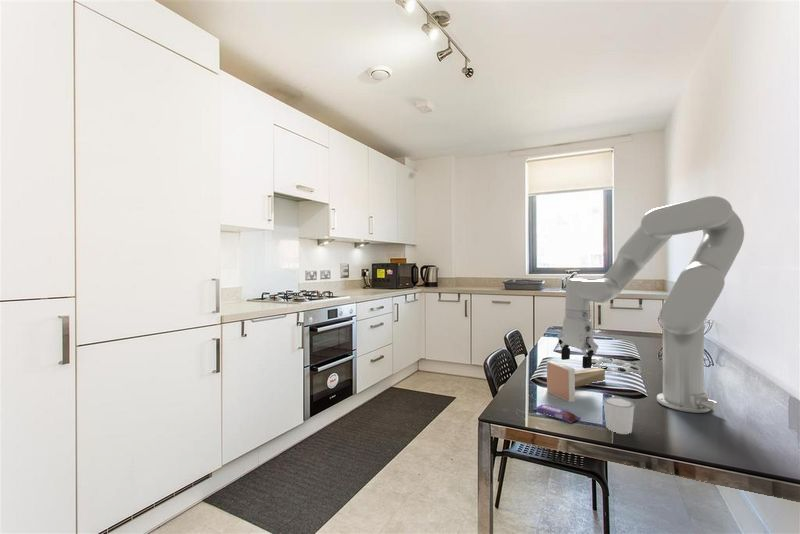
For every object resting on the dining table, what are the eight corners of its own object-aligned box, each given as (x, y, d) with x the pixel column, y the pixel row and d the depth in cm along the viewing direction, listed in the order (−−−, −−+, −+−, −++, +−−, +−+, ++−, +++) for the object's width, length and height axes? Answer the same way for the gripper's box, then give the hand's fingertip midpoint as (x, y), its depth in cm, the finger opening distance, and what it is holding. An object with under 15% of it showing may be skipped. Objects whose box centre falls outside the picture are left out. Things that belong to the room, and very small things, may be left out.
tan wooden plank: (610, 384, 125) (610, 371, 125) (565, 391, 119) (564, 378, 119) (593, 378, 131) (593, 365, 131) (550, 384, 126) (550, 371, 126)
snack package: (532, 405, 105) (542, 401, 108) (532, 412, 105) (542, 407, 108) (571, 419, 96) (580, 414, 99) (571, 426, 96) (580, 421, 99)
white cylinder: (625, 423, 96) (625, 396, 96) (640, 435, 89) (640, 407, 89) (598, 422, 97) (598, 396, 96) (611, 435, 90) (610, 407, 90)
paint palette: (627, 361, 152) (627, 356, 152) (653, 376, 132) (653, 371, 132) (577, 360, 155) (577, 355, 155) (596, 375, 135) (596, 370, 135)
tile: (575, 401, 111) (574, 369, 111) (569, 402, 110) (568, 369, 110) (552, 390, 120) (551, 360, 120) (546, 391, 120) (546, 361, 120)
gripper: (606, 318, 117) (605, 370, 118) (567, 309, 134) (566, 355, 135) (588, 319, 115) (586, 372, 116) (550, 310, 132) (549, 357, 133)
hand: (575, 363), depth 125 cm, fingers open, 9 cm apart
